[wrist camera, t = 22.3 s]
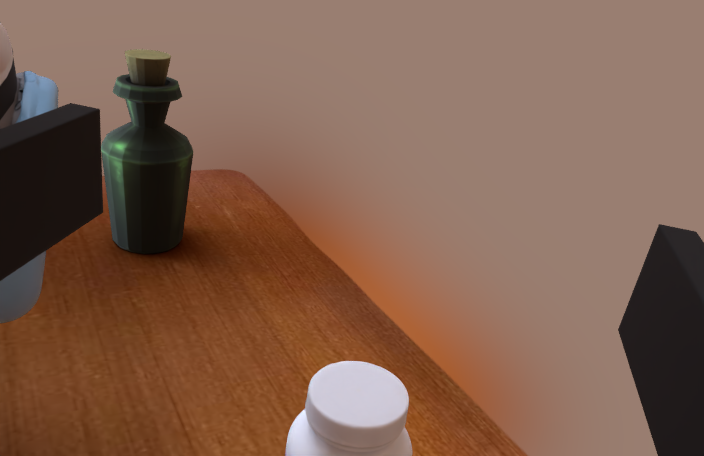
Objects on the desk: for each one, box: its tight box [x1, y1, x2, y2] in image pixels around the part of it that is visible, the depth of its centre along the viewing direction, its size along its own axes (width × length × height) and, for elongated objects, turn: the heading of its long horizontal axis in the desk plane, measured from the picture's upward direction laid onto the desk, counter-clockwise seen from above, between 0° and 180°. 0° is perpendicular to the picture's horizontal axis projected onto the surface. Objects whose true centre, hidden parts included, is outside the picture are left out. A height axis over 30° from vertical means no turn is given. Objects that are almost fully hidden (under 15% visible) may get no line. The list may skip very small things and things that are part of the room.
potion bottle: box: [101, 50, 193, 254], centre depth 58 cm, size 8×8×18 cm
